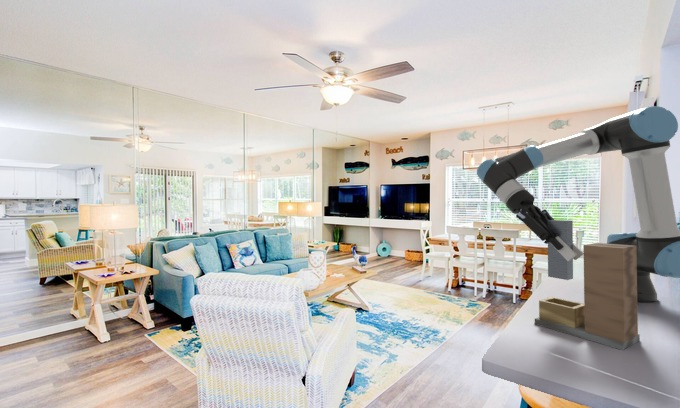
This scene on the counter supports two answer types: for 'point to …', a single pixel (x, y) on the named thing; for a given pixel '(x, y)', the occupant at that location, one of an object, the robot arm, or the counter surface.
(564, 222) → the grey block
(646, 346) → the counter surface
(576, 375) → the counter surface
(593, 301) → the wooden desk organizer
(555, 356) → the counter surface
